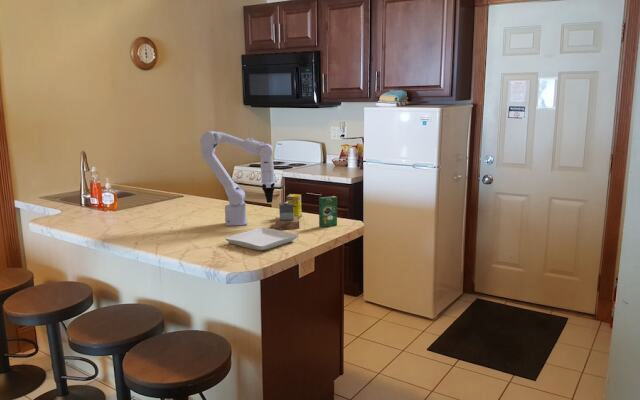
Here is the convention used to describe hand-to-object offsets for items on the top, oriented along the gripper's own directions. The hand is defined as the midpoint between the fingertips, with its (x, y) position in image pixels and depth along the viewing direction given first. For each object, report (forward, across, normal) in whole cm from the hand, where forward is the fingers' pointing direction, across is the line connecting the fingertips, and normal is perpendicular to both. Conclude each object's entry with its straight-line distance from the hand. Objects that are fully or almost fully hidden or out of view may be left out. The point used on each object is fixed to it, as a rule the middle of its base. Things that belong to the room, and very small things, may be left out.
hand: (269, 200), depth 231 cm
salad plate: (+11, -32, +4) cm, 34 cm away
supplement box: (+11, +8, -11) cm, 18 cm away
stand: (+11, -7, -7) cm, 15 cm away
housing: (+8, -7, -7) cm, 12 cm away
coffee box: (+11, -10, -25) cm, 29 cm away
